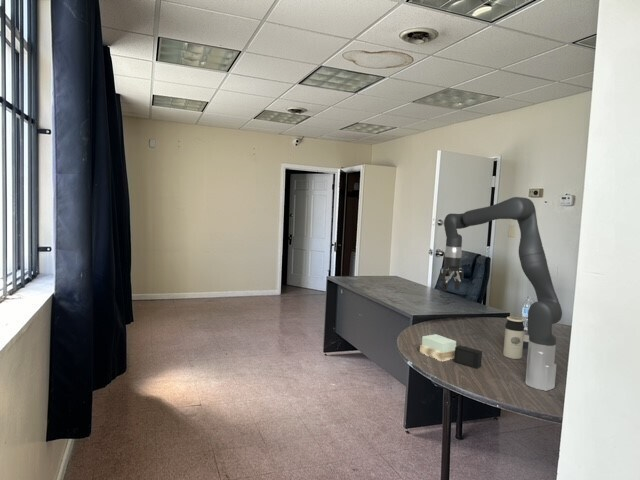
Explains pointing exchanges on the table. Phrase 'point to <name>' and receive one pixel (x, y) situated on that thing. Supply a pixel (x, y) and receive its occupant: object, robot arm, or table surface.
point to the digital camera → (468, 356)
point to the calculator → (525, 341)
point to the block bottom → (437, 353)
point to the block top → (439, 343)
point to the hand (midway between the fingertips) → (450, 290)
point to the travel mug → (513, 338)
